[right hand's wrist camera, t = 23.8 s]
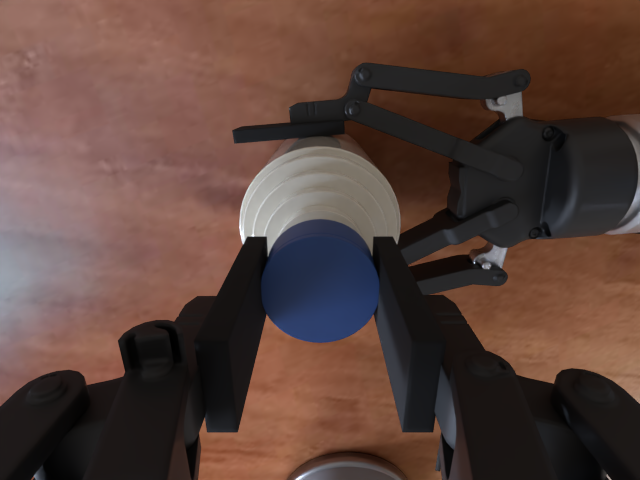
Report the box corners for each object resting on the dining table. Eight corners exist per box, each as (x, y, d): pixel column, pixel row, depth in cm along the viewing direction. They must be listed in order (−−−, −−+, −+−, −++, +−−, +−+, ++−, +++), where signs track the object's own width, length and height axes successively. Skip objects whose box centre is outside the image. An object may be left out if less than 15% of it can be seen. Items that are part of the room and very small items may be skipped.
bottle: (370, 225, 32) (426, 371, 15) (273, 229, 32) (222, 377, 15) (371, 124, 29) (443, 165, 12) (264, 128, 29) (188, 175, 12)
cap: (269, 314, 15) (262, 342, 14) (264, 218, 14) (256, 236, 12) (370, 315, 15) (376, 343, 14) (376, 218, 14) (384, 236, 12)
